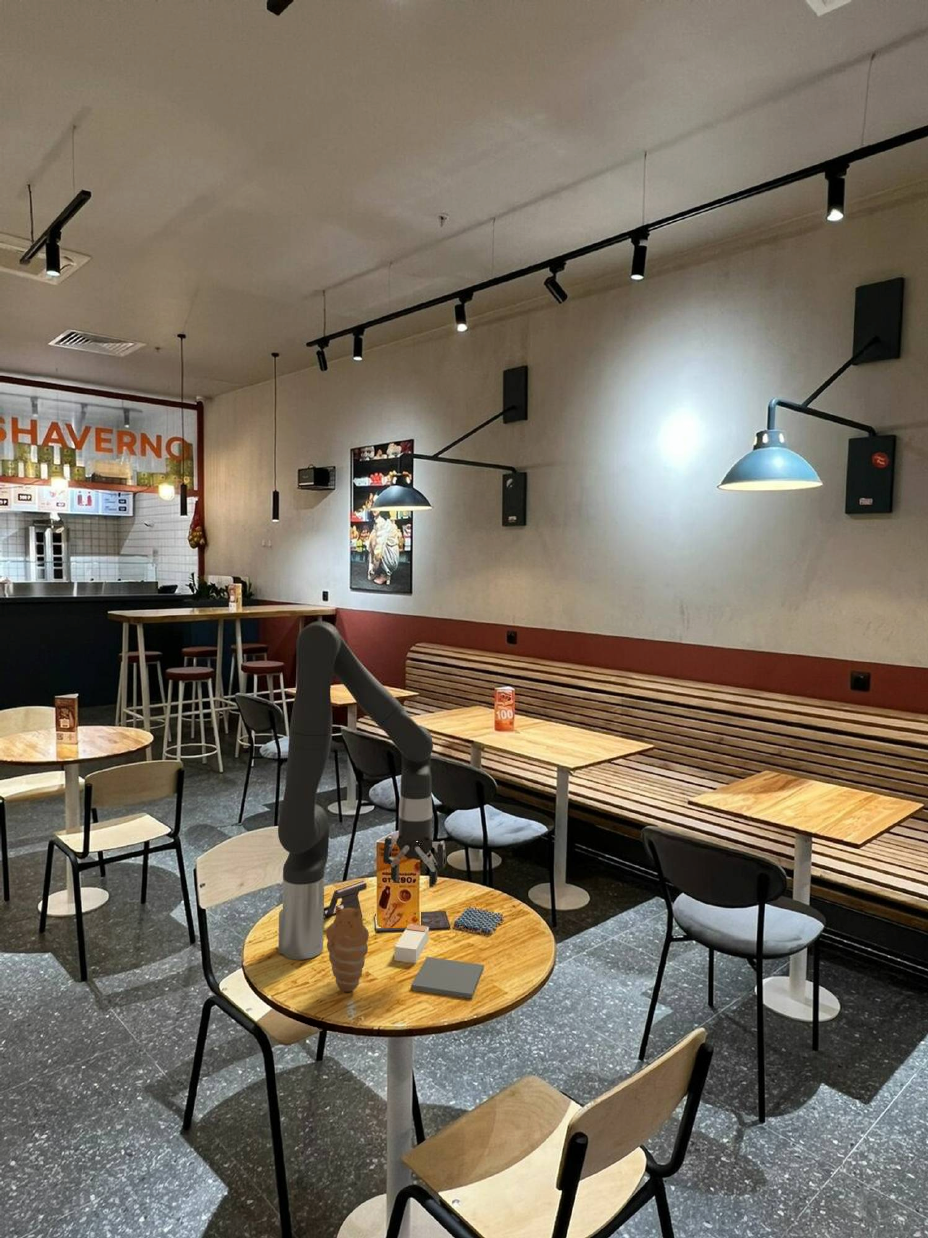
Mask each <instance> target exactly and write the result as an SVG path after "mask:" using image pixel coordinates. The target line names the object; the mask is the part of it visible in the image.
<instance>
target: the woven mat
mask: <svg viewBox="0 0 928 1238" xmlns="http://www.w3.org/2000/svg"><path fill="white" fill-rule="evenodd" d="M504 920H505V918H504V915H503V913H501V912H498V913H497V912H495V911H492V912H491V911H489V910H488V909H486V911H485V910H483V908H480V909H477V907H474V908H473V907H471V906H468V907H467V908H465V910H464V911H462V913H461V914H460V915H458V917H457V918H455V920H453V926H452V928H453V929H456V930H460V931H464V932H470V933H474V934H478V935H483V936H487V937H492V935H493V934H494V933H495V932H496V930H497V928H498V926H499V925H501V924H502V923H503V921H504ZM501 922H502V923H501Z"/></svg>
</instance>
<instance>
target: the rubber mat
mask: <svg viewBox="0 0 928 1238" xmlns="http://www.w3.org/2000/svg"><path fill="white" fill-rule="evenodd" d="M484 969H485V966H484V964H481V963H480V964H479V963H473V962H467V961H465V962H464V961H459V960H454V959H453V960H452V959H446V958H445V959H444V958H439V957H438V958H437V957H430V956H426V957H425V959H424V961H423V963H422V965H421V966H420V968H419V970H418V972H417V974H416V976H415V977H414V979H413V981H412V983H411V985H410V987H411V988H410V990H411V991H412V990H413V991H419V992H425V993H431V994H438V995H445V996H452V997H457V996H459V997H458V998H464V997H465V999H470V998H472V999H473V997H474V994H475V992H476V989H477V987H478V984H479V982H480V979H481V977H482V974H483V972H484ZM460 996H461V997H460Z"/></svg>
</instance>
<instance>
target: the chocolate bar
mask: <svg viewBox="0 0 928 1238" xmlns="http://www.w3.org/2000/svg"><path fill="white" fill-rule="evenodd" d="M420 912H421V926H428V927H429V931H437V930H438V931H439V930H440V931H442V930H451V924H450V921H449V917H448V914H447V912H446V910H435V911H420ZM376 914H377V913H375V914H374V921H375V932H376V934H382V933H401V932H403V933H404V931H405V929H406V928H381V927H379V926H378V925H377V920H376Z"/></svg>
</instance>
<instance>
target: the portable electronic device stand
mask: <svg viewBox="0 0 928 1238" xmlns="http://www.w3.org/2000/svg"><path fill="white" fill-rule="evenodd" d="M367 887H368V886H367V883H366V881H365V880H362V881H358V882H356V883H353V884H351V885H348V886H344V887H342V888H339V889H336V890H334V891H333V894H332V897H331V900H330V903H329V905H326V906H324V916H325V917H324V918H327V917H328V916H329V917H330V916H333V915H336V910H335V909H336V906H338V907H340V908H341V909H345V908H354V909H358V908H360V909H361V903H360V900H359V899H360V898H359V893H360V892H361V891H366V890H367ZM340 899H341V901H340V904H337V903H338V900H340ZM361 910H362V909H361ZM360 914H361V917H362V918H363V912H362V911H361V912H360ZM329 917H328V918H329Z"/></svg>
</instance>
